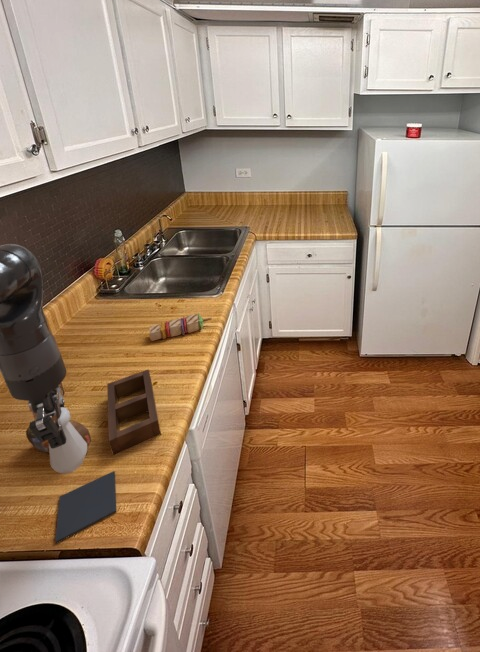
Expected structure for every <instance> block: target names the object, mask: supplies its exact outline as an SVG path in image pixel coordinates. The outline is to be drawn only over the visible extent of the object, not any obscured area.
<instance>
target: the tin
mask: <svg viewBox="0 0 480 652" xmlns="http://www.w3.org/2000/svg"><path fill="white" fill-rule="evenodd" d="M69 422H70V423H71V424H72V426H73V427H74V428H75V429H76V430H77V432H78V433H79V434H80V435H81V437H82V438H83V439H84V440H85V442H86V443H87V448H88V447H89V446H90V444H91V442H92V437H91V434H90V431H89V429H88V428H87V427H86V426H85V425H84V424H83V423H81V422H79V421H76V420H71V419H70V421H69ZM25 435H26V439H27V440H28V442H29V444H31V446H33V447H34V448H35V449H36V450H38V451H40V452H42V453H49V454H50V452H49V442H48V440H46V441H45V442H42V443H41V442H40V441H39V440H38V439H37V437H36V436H35V435H34V433H33V432H32V431H31V430H30V428H29V426H28V427H27V428H26V430H25Z"/></svg>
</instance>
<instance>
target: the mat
mask: <svg viewBox="0 0 480 652" xmlns="http://www.w3.org/2000/svg"><path fill="white" fill-rule="evenodd" d="M116 491H117V490H116V471H115V470H113V471H111V472H109V473H107V474H104V475H103V476H100V477H98V478H96V479H93V480H91V481H90V482H88V483H85V484H83V485H81V486H79V487H77V488H74V489H72V490H71V491H68V492H66V493H64V494H62V495H60V496H59V501H58V510H57V520H56V530H55V538H54V539H55V540H54V542H55V544H58V543H60V542H62V541H63V539H64V538H66V537H68V536H70V537H72V536H73V535H72V534H74V535H75V534H78V533H79V532H81V531H83V530H85V529H87V528H88V527H91V526H93V525H95V524H96V523H98V522H101V521H102V520H104V519H106V518H108V517H110V516H112V515H114V514H116V513H117V493H116ZM71 535H72V536H71ZM68 538H69V537H68ZM66 539H67V538H66ZM61 540H62V541H61ZM64 540H65V539H64ZM59 541H60V542H59ZM57 542H58V543H57Z"/></svg>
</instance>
